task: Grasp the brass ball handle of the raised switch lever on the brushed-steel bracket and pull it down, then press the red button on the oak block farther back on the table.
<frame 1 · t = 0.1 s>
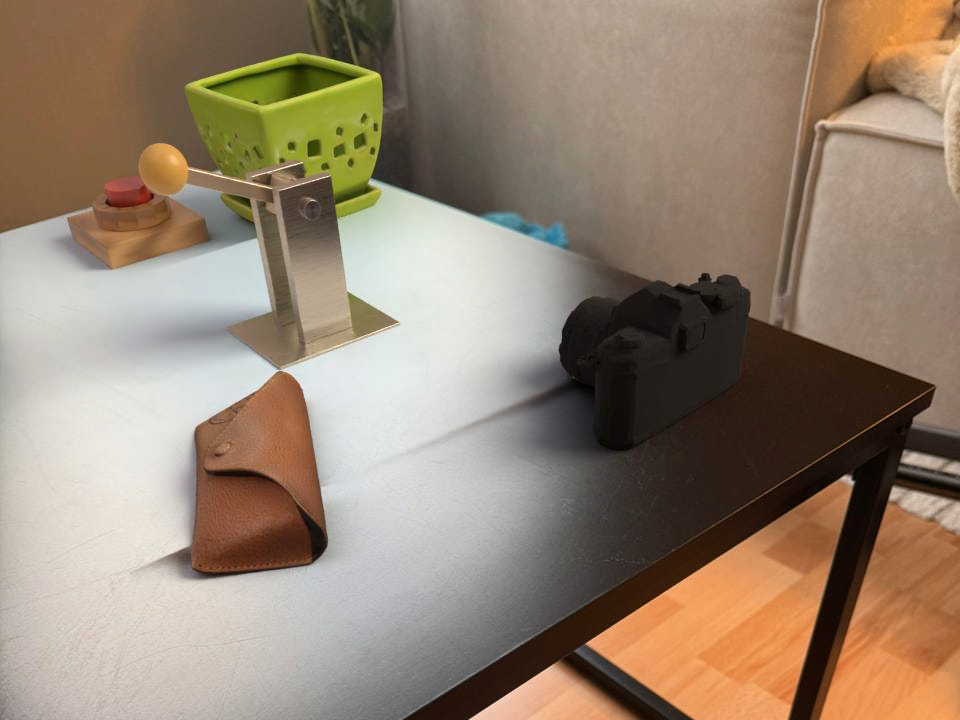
switch lever: (229, 185, 71), point 13 cm above the table, hinge at 25.0°
button: (128, 193, 96), point 4 cm above the table, slide at 0.1 cm
switch bracket: (315, 338, 82), on the table
button block: (141, 240, 99), on the table
film camera: (638, 397, 73), on the table
sunglasses case: (257, 491, 67), on the table
flower pot: (304, 218, 102), on the table
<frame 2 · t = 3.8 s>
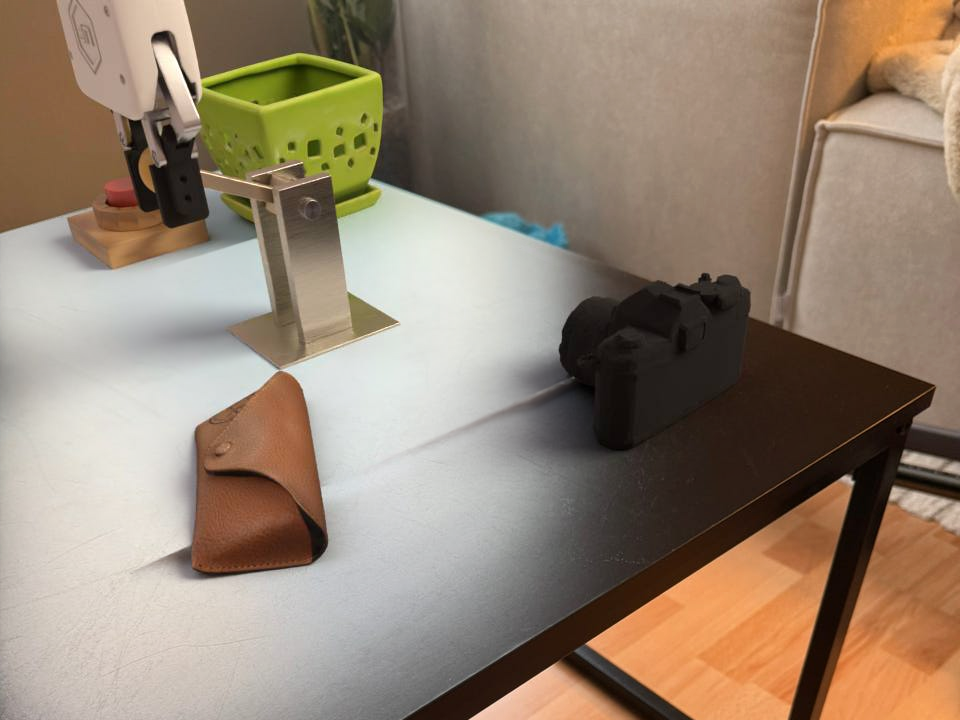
hand: (174, 211, 70), 12 cm above the table, tool pointing down, fingers closed on switch lever, 3 cm apart
switch lever: (229, 185, 71), point 13 cm above the table, hinge at 25.0°, touching gripper
everything else where it was.
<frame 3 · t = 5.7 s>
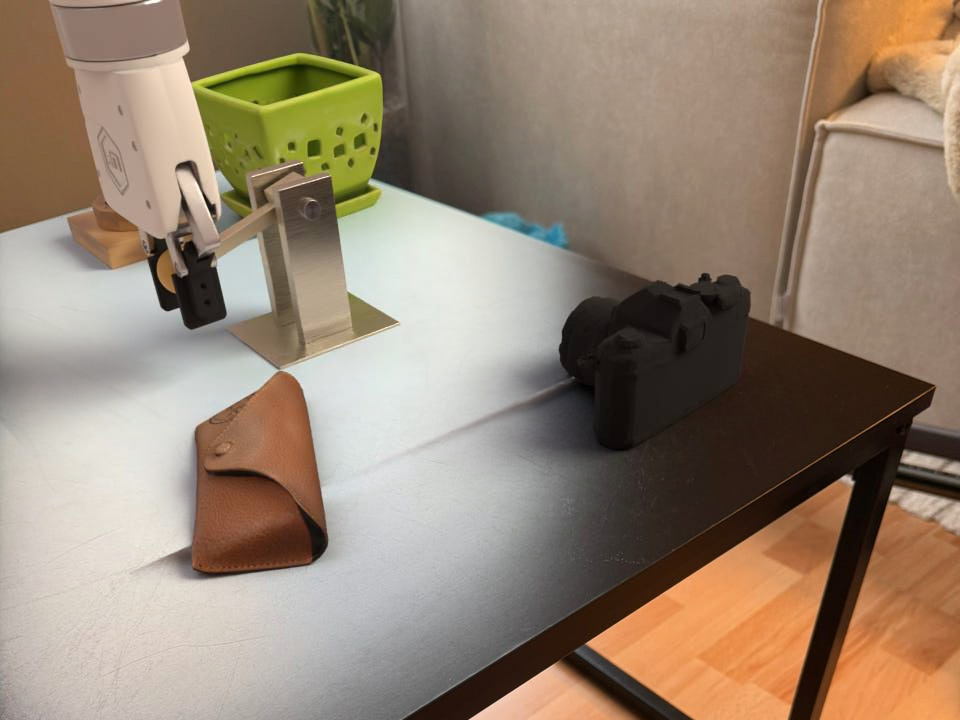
hand: (193, 311, 74), 5 cm above the table, tool pointing down, fingers closed on switch lever, 3 cm apart
switch lever: (235, 235, 73), point 10 cm above the table, hinge at -14.8°, touching gripper
everything else where it was.
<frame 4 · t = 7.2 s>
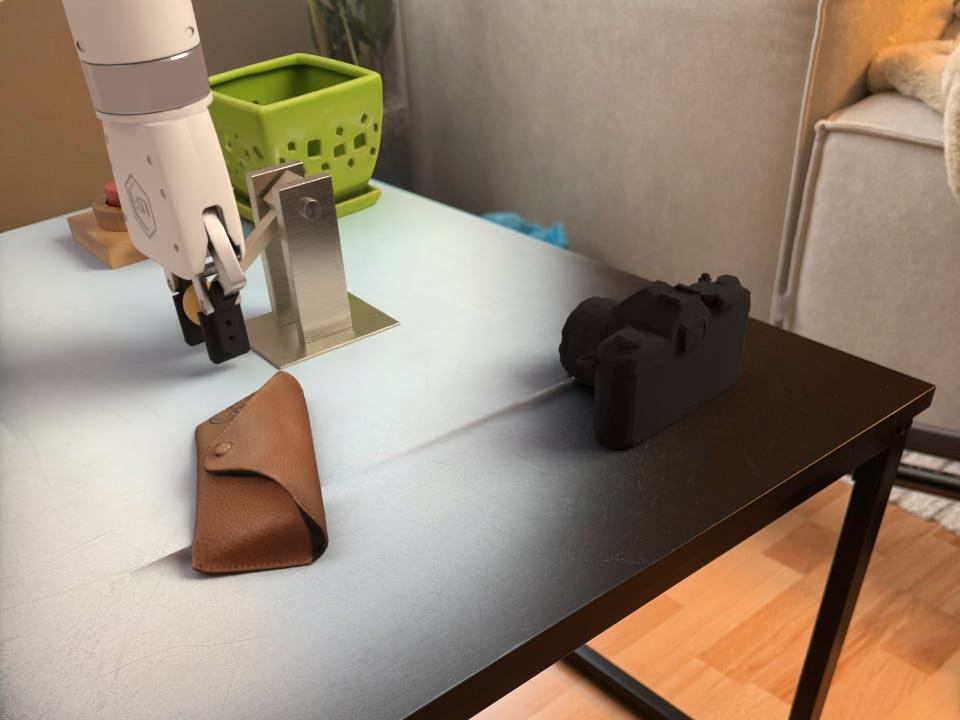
hand: (217, 346, 77), 2 cm above the table, tool pointing down, fingers closed on switch lever, 3 cm apart
switch lever: (247, 252, 74), point 8 cm above the table, hinge at -32.7°, touching gripper
everything else where it was.
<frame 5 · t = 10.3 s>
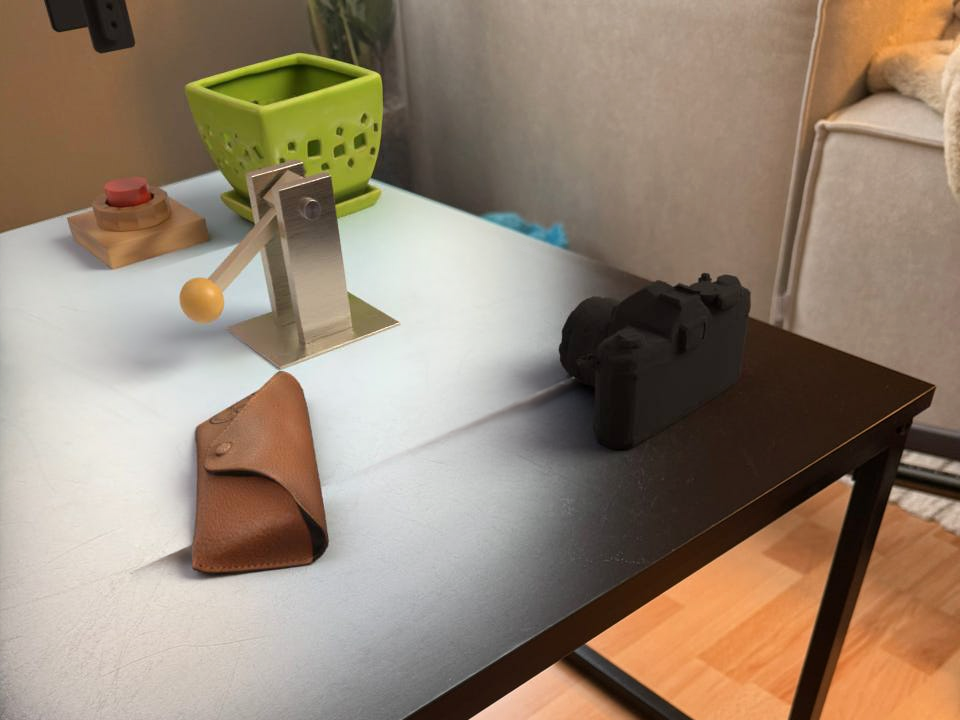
hand: (93, 38, 81), 19 cm above the table, tool pointing down, fingers open, 9 cm apart
switch lever: (246, 251, 74), point 8 cm above the table, hinge at -30.5°
everything else where it was.
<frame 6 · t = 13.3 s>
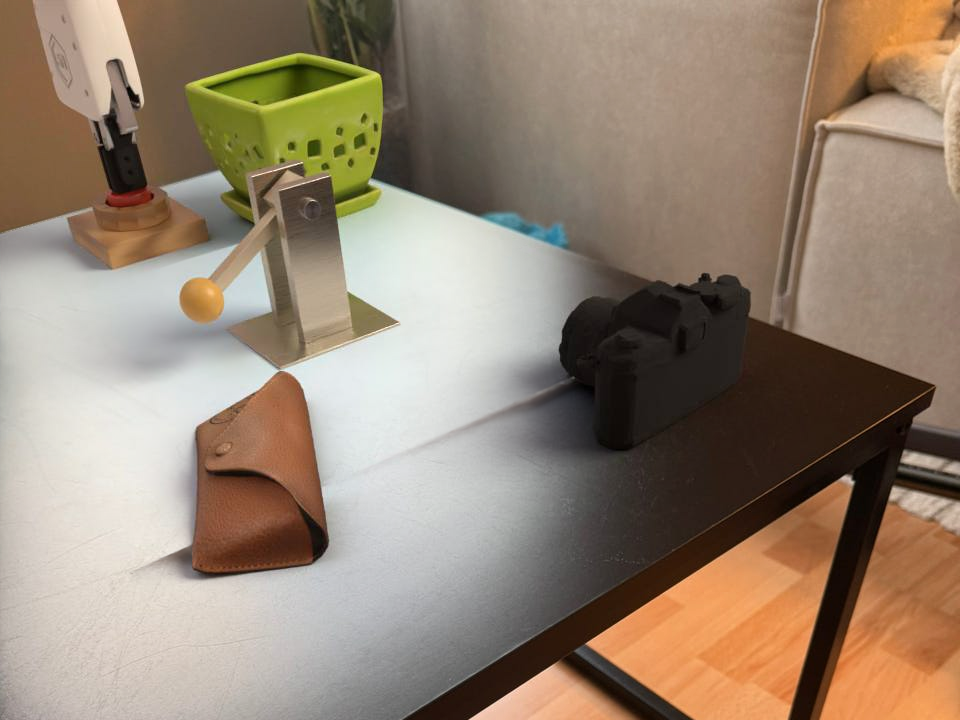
hand: (129, 188, 96), 5 cm above the table, tool pointing down, fingers closed
button: (129, 199, 96), point 4 cm above the table, slide at -0.4 cm, touching gripper
everything else where it was.
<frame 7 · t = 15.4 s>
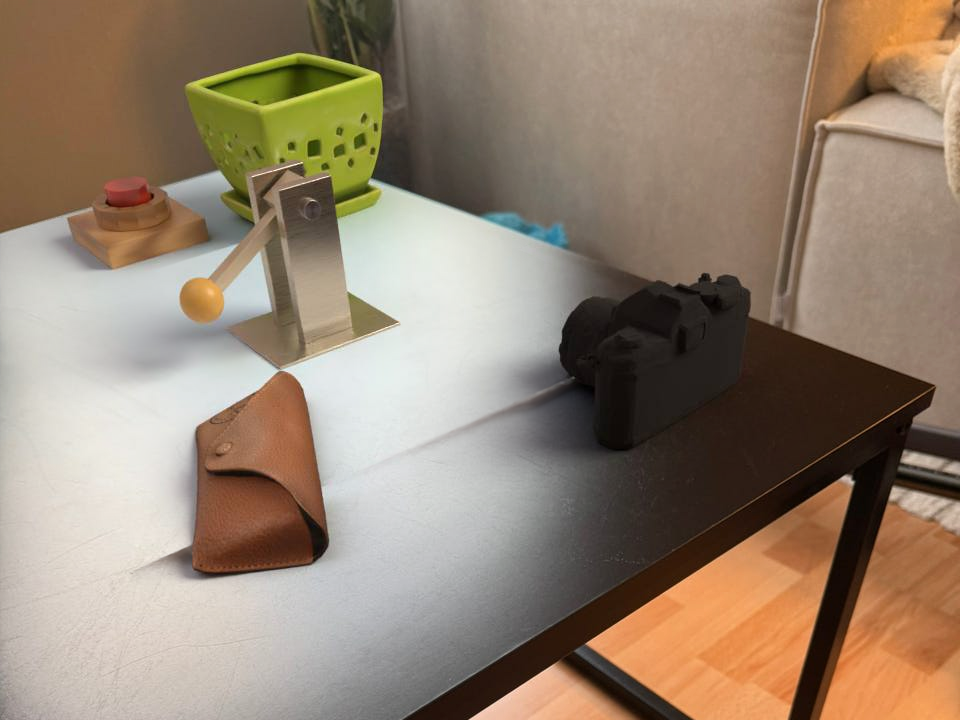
button: (128, 193, 96), point 4 cm above the table, slide at 0.1 cm
everything else where it was.
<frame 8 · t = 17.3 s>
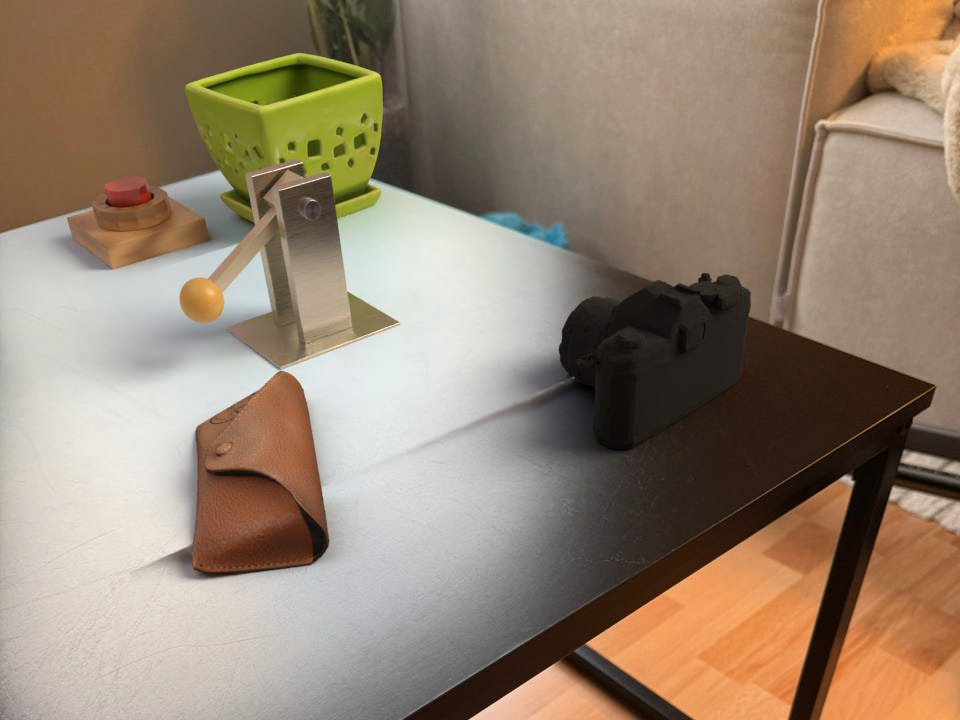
nothing on the table moved.
at the end: switch lever at -30° (first picture: +25°); button pushed in 1.1 cm at the most during the clip, back to where it started at the end; button slide at 0.1 cm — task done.
